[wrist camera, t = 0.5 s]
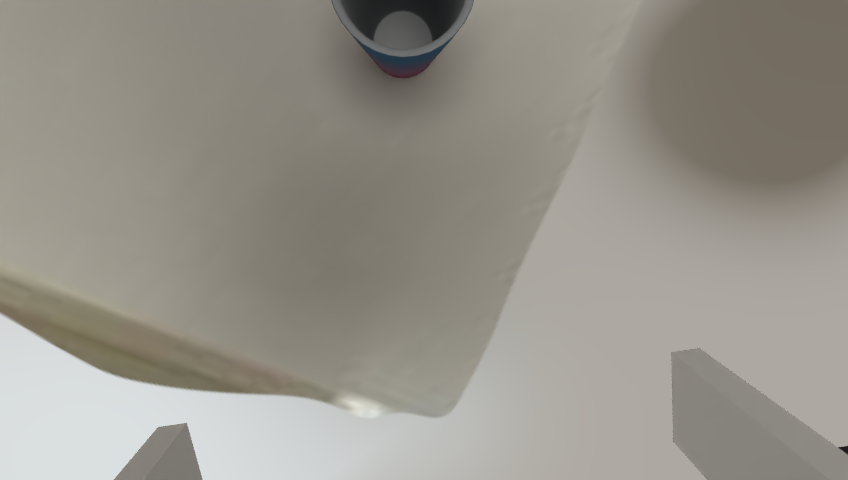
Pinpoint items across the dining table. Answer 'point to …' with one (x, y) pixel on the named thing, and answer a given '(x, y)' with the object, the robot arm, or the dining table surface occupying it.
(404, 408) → the dining table surface
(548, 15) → the dining table surface
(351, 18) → the cup
